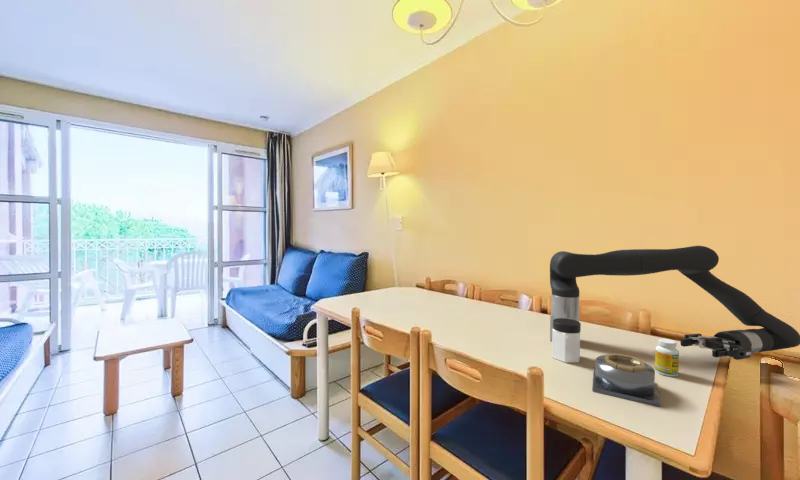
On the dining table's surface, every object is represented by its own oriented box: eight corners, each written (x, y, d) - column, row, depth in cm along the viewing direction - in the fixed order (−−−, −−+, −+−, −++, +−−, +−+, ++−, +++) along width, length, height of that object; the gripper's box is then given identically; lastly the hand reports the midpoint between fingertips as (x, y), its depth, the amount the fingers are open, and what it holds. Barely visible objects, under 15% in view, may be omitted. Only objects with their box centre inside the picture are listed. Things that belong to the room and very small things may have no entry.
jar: (573, 352, 111) (573, 317, 110) (586, 363, 102) (587, 325, 102) (546, 352, 111) (547, 318, 110) (558, 363, 103) (558, 325, 102)
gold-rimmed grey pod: (592, 391, 85) (592, 364, 85) (593, 370, 97) (594, 346, 97) (660, 406, 78) (661, 377, 78) (652, 382, 90) (653, 356, 89)
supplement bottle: (658, 367, 99) (659, 336, 98) (681, 374, 94) (682, 341, 94) (651, 371, 96) (652, 339, 96) (674, 379, 92) (675, 345, 91)
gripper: (711, 324, 108) (672, 328, 104) (768, 338, 94) (726, 344, 90) (710, 346, 108) (672, 351, 105) (767, 364, 94) (725, 370, 91)
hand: (697, 348), depth 97 cm, fingers open, 8 cm apart
